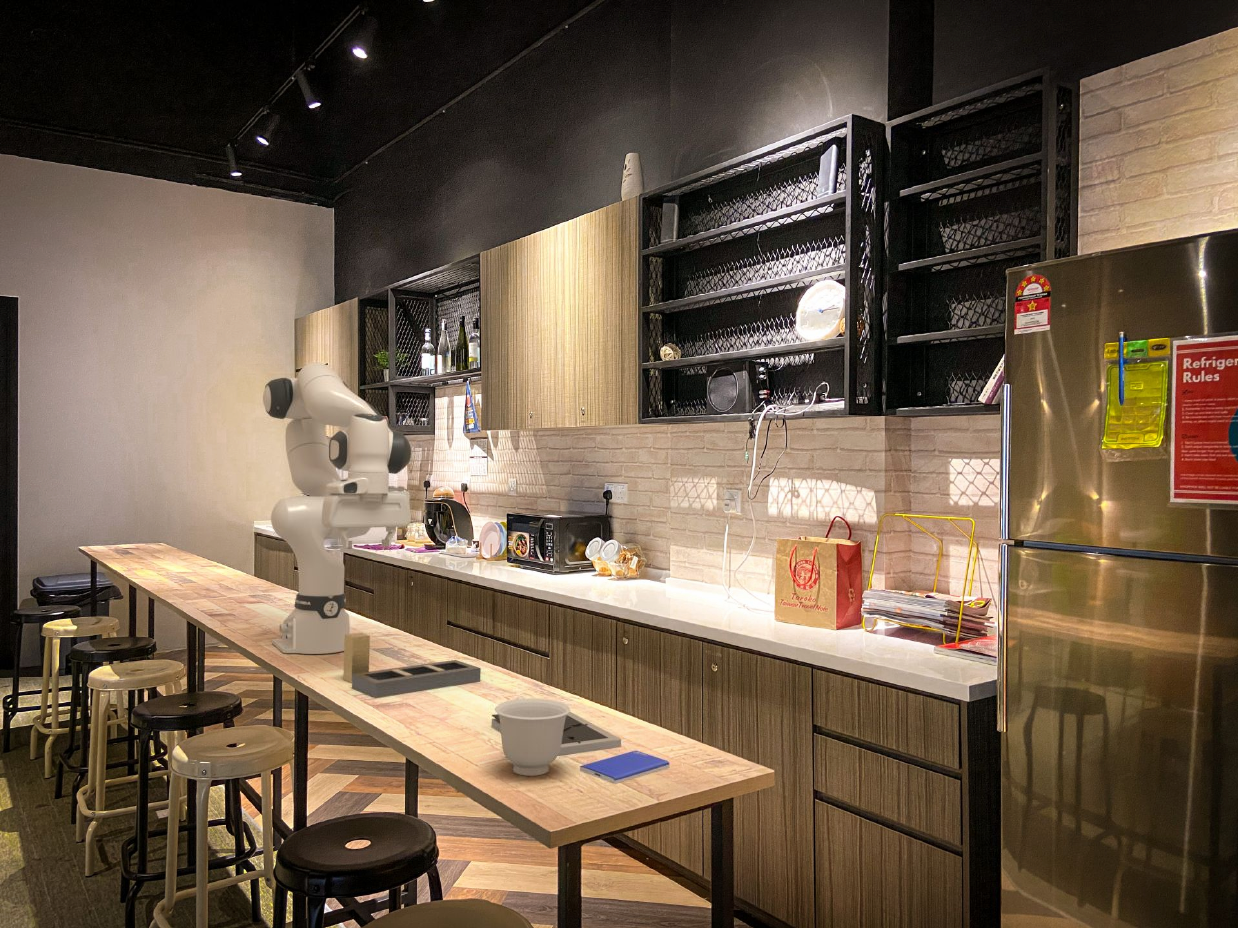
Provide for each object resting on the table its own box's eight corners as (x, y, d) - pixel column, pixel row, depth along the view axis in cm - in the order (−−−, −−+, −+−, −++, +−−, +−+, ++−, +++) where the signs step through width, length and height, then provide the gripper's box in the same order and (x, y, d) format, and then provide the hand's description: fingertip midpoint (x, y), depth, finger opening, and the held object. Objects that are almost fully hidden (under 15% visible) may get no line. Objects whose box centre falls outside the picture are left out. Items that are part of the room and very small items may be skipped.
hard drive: (634, 749, 158) (579, 764, 150) (669, 760, 153) (615, 777, 144) (633, 758, 158) (579, 774, 150) (669, 770, 153) (615, 787, 144)
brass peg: (343, 679, 206) (344, 634, 206) (360, 677, 208) (361, 632, 208) (351, 683, 203) (353, 637, 203) (368, 681, 205) (369, 635, 206)
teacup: (550, 750, 160) (552, 692, 160) (578, 778, 146) (580, 714, 146) (481, 756, 155) (483, 696, 155) (503, 786, 141) (505, 720, 141)
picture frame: (491, 729, 173) (539, 762, 155) (491, 714, 173) (539, 745, 155) (567, 720, 181) (620, 750, 163) (567, 706, 181) (621, 734, 163)
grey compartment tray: (351, 687, 199) (352, 672, 199) (454, 672, 216) (455, 658, 216) (375, 697, 191) (375, 682, 191) (480, 681, 208) (480, 666, 208)
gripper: (402, 486, 218) (401, 545, 217) (319, 485, 204) (317, 548, 204) (416, 486, 213) (415, 547, 213) (332, 485, 199) (330, 550, 199)
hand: (366, 548), depth 208 cm, fingers open, 8 cm apart
